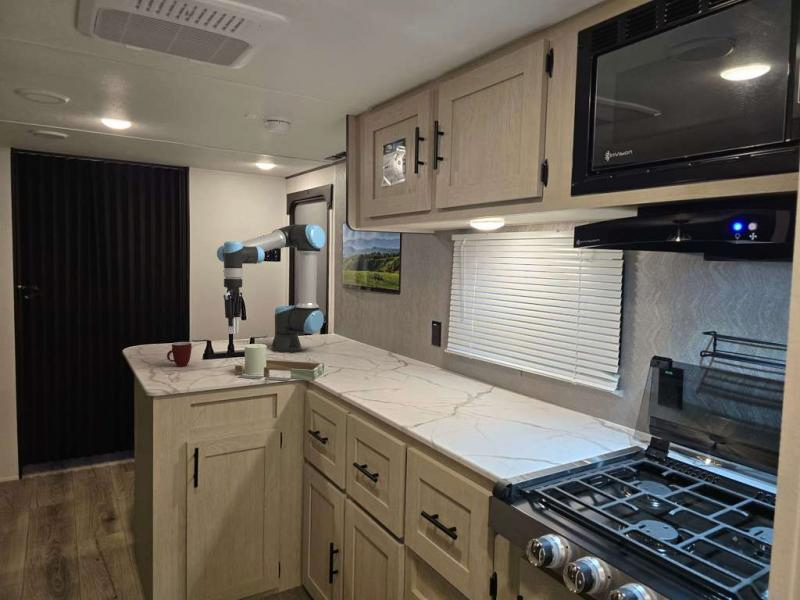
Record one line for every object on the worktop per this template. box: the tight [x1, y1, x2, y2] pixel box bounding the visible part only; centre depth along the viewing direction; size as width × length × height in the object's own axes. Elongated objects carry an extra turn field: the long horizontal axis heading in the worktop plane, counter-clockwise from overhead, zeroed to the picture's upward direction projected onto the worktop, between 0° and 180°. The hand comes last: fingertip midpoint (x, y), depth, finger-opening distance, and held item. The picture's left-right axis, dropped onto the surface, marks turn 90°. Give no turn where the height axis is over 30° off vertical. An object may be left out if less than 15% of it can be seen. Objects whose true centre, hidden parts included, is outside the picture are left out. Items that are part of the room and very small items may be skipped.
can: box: [243, 343, 268, 376], centre depth 229 cm, size 9×9×12 cm
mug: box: [166, 341, 193, 368], centre depth 236 cm, size 10×8×10 cm
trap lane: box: [234, 359, 325, 381], centre depth 228 cm, size 14×34×4 cm, turn 82°
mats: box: [237, 374, 291, 382], centre depth 219 cm, size 4×21×1 cm, turn 82°
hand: (233, 332), depth 229 cm, fingers open, 3 cm apart
